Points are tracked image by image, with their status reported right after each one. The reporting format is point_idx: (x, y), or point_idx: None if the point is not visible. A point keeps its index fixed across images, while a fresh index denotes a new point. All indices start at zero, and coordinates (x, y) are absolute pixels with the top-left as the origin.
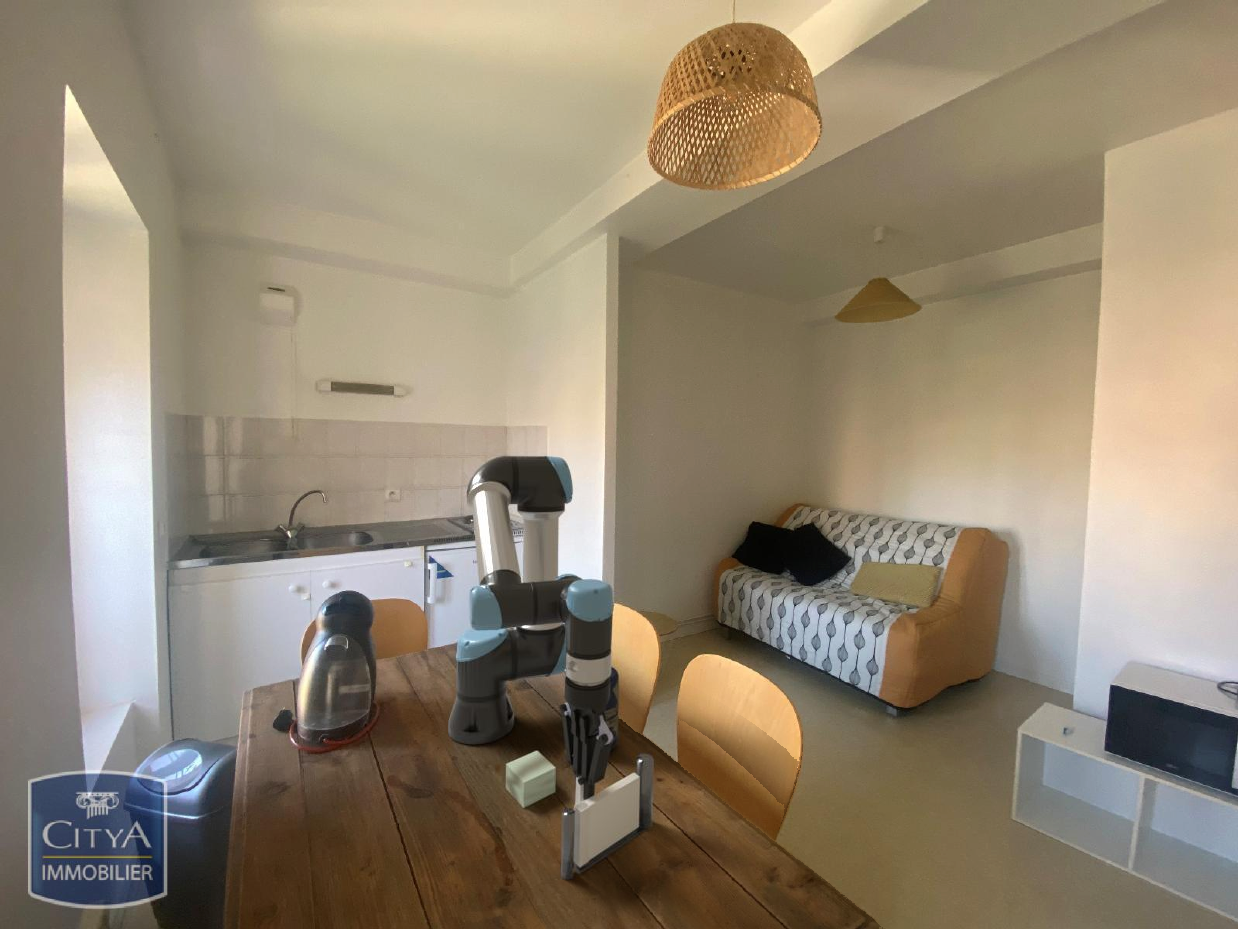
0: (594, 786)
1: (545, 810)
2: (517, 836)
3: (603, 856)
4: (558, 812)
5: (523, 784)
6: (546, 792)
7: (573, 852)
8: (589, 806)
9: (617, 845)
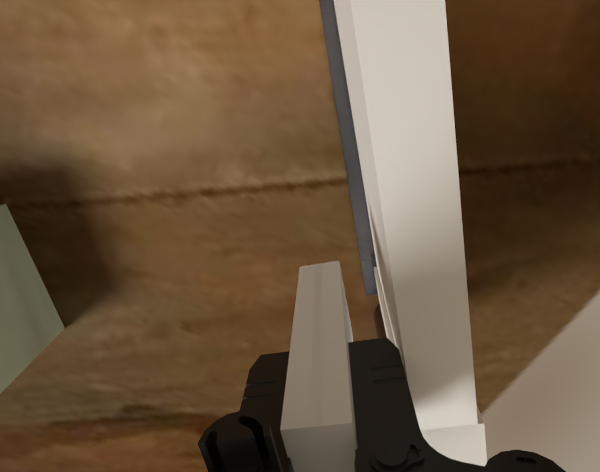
0: (411, 401)
1: (97, 271)
2: (182, 378)
3: None
4: (122, 236)
5: (2, 388)
6: (13, 250)
7: None
8: (476, 420)
9: None
